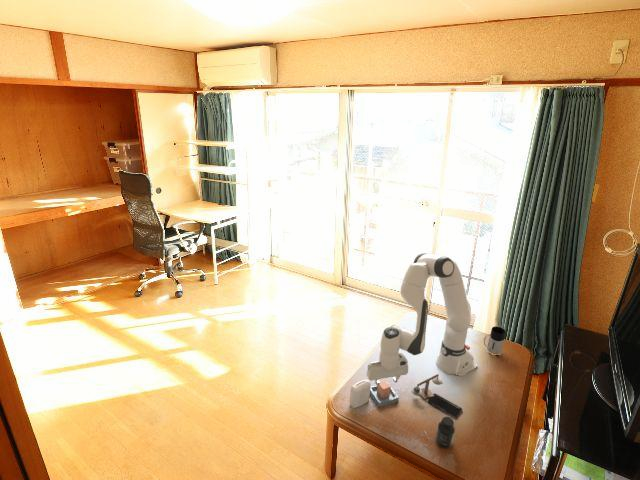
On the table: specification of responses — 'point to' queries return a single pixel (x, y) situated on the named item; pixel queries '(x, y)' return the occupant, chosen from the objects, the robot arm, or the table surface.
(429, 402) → the phone
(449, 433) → the supplement bottle
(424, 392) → the tipped balance
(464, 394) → the table surface
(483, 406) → the table surface
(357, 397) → the photo printer
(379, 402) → the dish
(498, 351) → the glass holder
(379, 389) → the terracotta block
